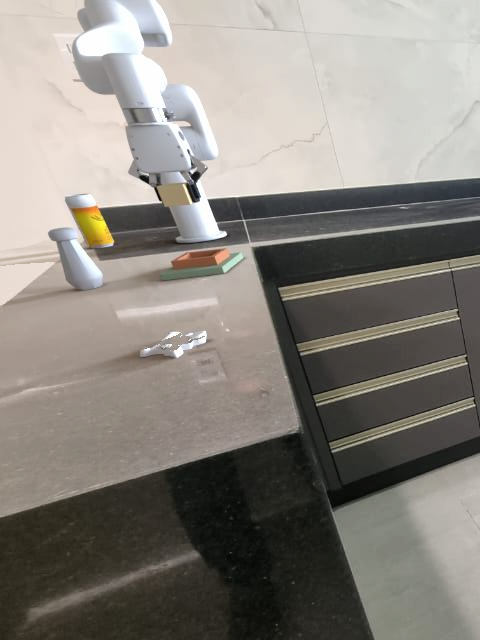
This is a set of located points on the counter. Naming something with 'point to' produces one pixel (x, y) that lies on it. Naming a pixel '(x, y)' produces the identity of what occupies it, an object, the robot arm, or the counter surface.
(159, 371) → the counter surface
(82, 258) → the salt shaker
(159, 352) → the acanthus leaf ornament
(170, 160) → the robot arm
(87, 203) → the beer can
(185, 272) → the base pad
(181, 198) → the tan block
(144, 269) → the counter surface
